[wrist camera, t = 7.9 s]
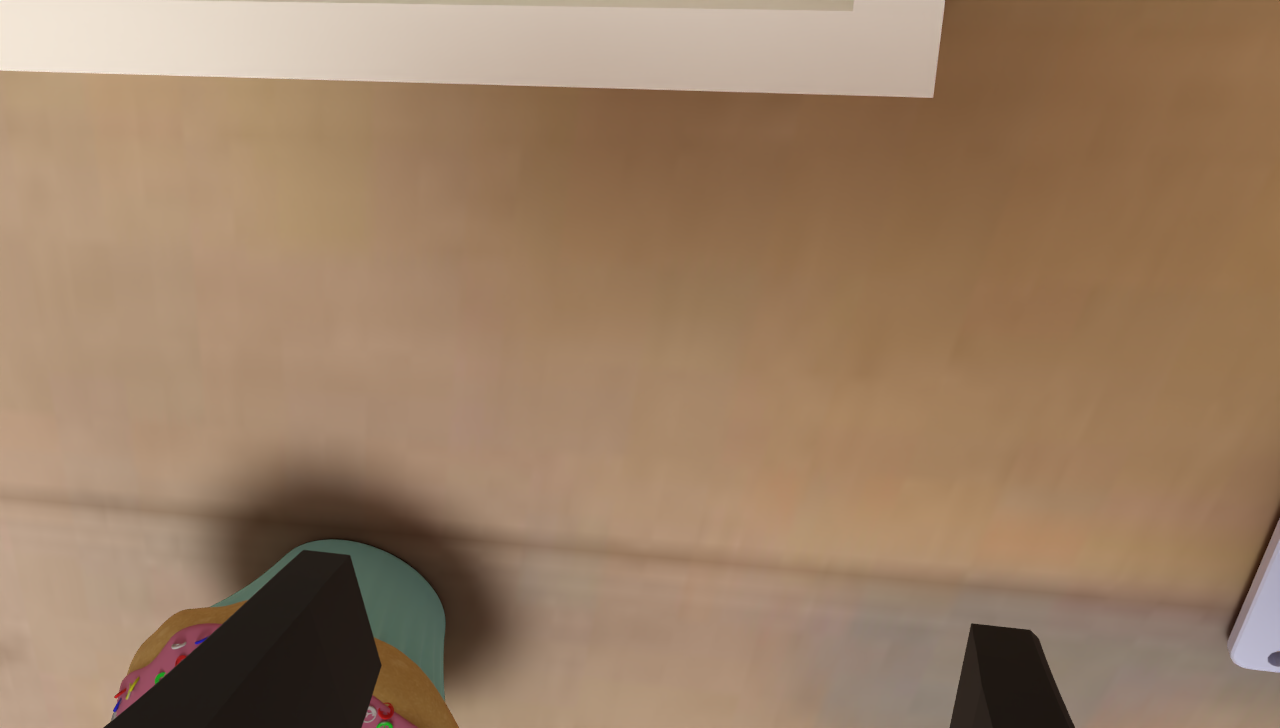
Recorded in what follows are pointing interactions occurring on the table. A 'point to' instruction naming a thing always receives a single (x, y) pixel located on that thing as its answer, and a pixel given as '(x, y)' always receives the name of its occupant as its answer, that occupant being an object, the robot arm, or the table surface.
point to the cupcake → (400, 622)
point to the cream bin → (495, 42)
